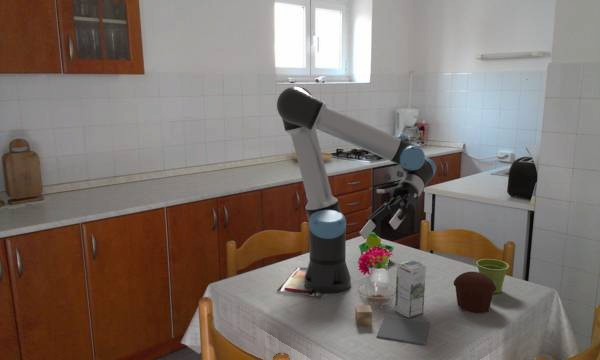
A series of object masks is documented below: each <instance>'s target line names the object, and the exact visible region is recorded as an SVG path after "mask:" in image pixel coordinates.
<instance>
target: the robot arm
mask: <svg viewBox="0 0 600 360" xmlns="http://www.w3.org/2000/svg"><path fill="white" fill-rule="evenodd" d="M276 108H277V109H276V110H277V113H278V115H279V116H280V118H281V120H282V123H283V128H284V131H285V132H286V133H288V134H289V135H290V137H291V140H292V145H293V149H294V151H295V156H296V160H297V164H298V167H299V172H300V175H301V180H302V183H303V188H304V191H305V194H306V199H307V203H306V205H305V207H304V209H305V213H306V216H307V219H308V230H309V231H308V232H309V233H308V236H309V261H308V265H307V269H306V271H305V274H304V279H303V280H304V283H305V284H304V286H305V285H306V286H307V287H308V288H310V289H312V290H314V291H313V292H316V291H317V292H316V293H321V292H322V293H323V294H334V293H340V292H344V291H346V290H348V289H349V288H350V287H351V284H352V281H351V279H352V278H351V275H350V271H349V269H348V266H347V262H346V244H347V243H346V240H347V239H346V237H347V236H346V235H347V234H346V233H347V232H346V231H347V230H346V229H347V220H346V217H345V215H344V214H343V213H342V212H341V207H340V203H339V200H338V198H336V197H335V196H334V195H333V194H332V193H333V192H332V189H331V186H330V181H329V177H328V173H327V170H326V169H327V168H326V166H325V161H324V158H323V153H322V149H321V145H320V141H319V138H318V134H317V130H318V131H321V132H323V133H325V134H328V135H330V136H331V137H335V138H337V139H339V140H342V141H344V142H346V143H347V144H350V145H353V146H356V147H358V148H360V149H362V150H364V151H367V152H369V153H371V154H374V155H375V156H377V157H381V158H383V159H385V160H387V161H389V162H392V163H394V164H395V165H399V167H400V168H401V170H402V171H403V172H404V173H405V175H404V176H403V177H402V179H400V181H399V182H398V184H397V186H396V187H395V188H394V189H393V190H392V198H391V199H390V200H389V201H384V203H383V204H381V206H380V207H379V208H377V209H376V210H375V211H374V212H373V213H372V214H371V215H370V216H368V218H366V219H365V222H366V224H365V225H364V226H363V227H362V229H361V230H359V235H360V236H361V237H362V238H363V239H364V240H367V237H368V236H369V234H370V233H371V232H373V230H374V229H375V228H377V227H376V226H377V225H378V223H380V222H381V221H383V220H384V219H385V218H386V217H387V216H389V215H392V214H394V215H393V217H392V218H391V219H390V220H389V222H388V224H390V226H391V228H393V230H394V231H395V230H397V229H398V227H399V226H400V224H401V223H402V222H403V221H404V220H405V218H406V216H407V215H409V214H410V213H412V212H415V210H416V206H417V201H418V199H419V197H420V196H421V194H422V193H423V191H424V190H425V188H426V187H427V186H428V184H429V183H430V181H432V179H433V178H434V176H435V174H436V171H437V165H436V163H435V162H434V160H433V159H430V158H429V157H426V154H425V152H424V150H423V149H422V148H421V147H420V146H417V145H415V144H413V143H412V142H411V141H410V140H409V138H408V137H407V136H406V135H405V134H404V133H403V132H400V133H397V134H395V135H392V134H391V133H388V132H385V131H383V130H381V129H379V128H376V127H375V126H372V125H369V124H367V123H365V122H363V121H362V120H359V119H357V118H353V117H351V116H349V115H347V114H345V113H343V112H340V111H338V110H336V109H333V108H331V107H329V106H327V104H326V102H325V100H322V99H319V98H318V97H316V96H314V95H313V94H312V93H311V92H310V91H309V90H308V89H306V88H305V87H301V86H291V87H287V88H286V89H284V90H283V91H281V93H280V94H279V96H278V97H277V101H276ZM395 212H396V213H395ZM306 286H305V287H306ZM307 287H306V288H307ZM308 288H307V289H308ZM310 289H309V290H310ZM312 290H311V291H312Z"/></svg>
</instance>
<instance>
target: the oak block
mask: <svg viewBox="0 0 600 360" xmlns="http://www.w3.org/2000/svg"><path fill="white" fill-rule="evenodd" d="M354 314H355V315H354V316H355V319H354V320H355V324H356V326H357V327H361V326H362V327H363V326H364V327H368V326H371V327H372V326H373V310H372V307H371V305H355V313H354Z"/></svg>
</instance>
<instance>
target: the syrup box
mask: <svg viewBox="0 0 600 360" xmlns="http://www.w3.org/2000/svg"><path fill="white" fill-rule="evenodd" d="M426 269H427V266H426V265H424V264H423V263H421V262H418V261H416V260H412V259H411V260H407V261H404V262H403V261H402V262H399V263H397V264H396V281H395V305H394V310H395V311H396V312H397V313H398V314H400V315H402V316H405V317H406V318H407V319H411V318H414V317H416V316H418V315H422V314H424V309H425V308H424V306H425V305H424V304H425V291H426V290H425V289H426Z"/></svg>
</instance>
